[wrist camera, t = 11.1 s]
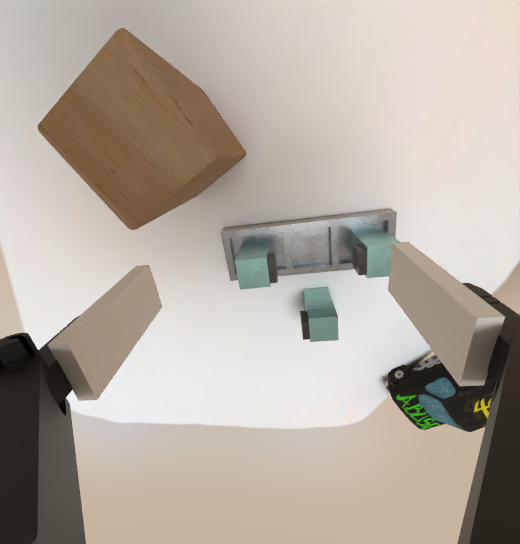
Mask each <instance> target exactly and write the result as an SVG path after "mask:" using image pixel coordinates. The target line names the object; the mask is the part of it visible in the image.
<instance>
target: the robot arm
mask: <svg viewBox="0 0 520 544" xmlns="http://www.w3.org/2000/svg"><path fill="white" fill-rule="evenodd" d="M388 291H389V292H390V293H391V295H392V296H393V297H394V299H395V300H396V301H397V303H398V304H399V305H400V307H401V308H402V309H403V311H404V312H405V314H406V315H407V316H408V318H409V319H410V320H411V322H412V323H413V324H414V326H415V327H416V328H417V330H418V331H419V332H420V334H421V335H422V336H423V338H424V339H425V340H426V342H427V343H428V344H429V346H430V347H431V349H432V350H433V351H434V353H435V354H436V355H437V357H438V358H439V359H440V361H441V362H442V363H443V365H444V366H445V367H446V369H447V370H448V371H449V373H450V374H451V375H452V377H453V378H454V380H455V381H456V382H457V384H458V385H459V386H481V385H484V384H485V380H486V377H487V374H488V371H489V373H490V374H491V375H492V376H493V377H494V378H495V379H496V380H497V383H496V386H495V389H494V392H493V395H492V398H491V401H490V404H489V406H490V410H489V415H488V419H487V423H486V427H485V431H484V435H483V440H482V444H481V448H480V452H479V456H478V461H477V465H476V469H475V473H474V478H473V482H472V486H471V490H470V494H469V498H468V502H467V507H466V511H465V515H464V519H463V523H462V527H461V532H460V536H459V540H458V544H520V315H518V314H517V313H515V312H514V311H513V310H511V309H510V308H508V307H507V306H506V305H504V304H503V303H500V301H499V300H497V299H496V298H494V297H492V295H490V294H489V293H488V292H486V291H485V290H483V289H482V288H480V287H477V286H475V285H472V284H470V283H461V282H459V281H458V280H457V279H456V278H454V277H453V276H452V275H450V274H449V273H448V272H446V271H445V270H444V269H443V268H441V267H440V266H439V265H437V264H436V263H435V262H433V261H432V260H431V259H430V258H428V257H427V256H426V255H424V254H423V253H422V252H421V251H419V250H418V249H417V248H415V247H414V246H413V245H411V244H410V243H409V242H400V243H392V252H391V263H390V275H389V286H388ZM161 308H162V304H161V301H160V298H159V295H158V292H157V288H156V285H155V282H154V279H153V276H152V273H151V269H150V266H149V265H144V266H136V267H135V268H134V269H132V270H131V271H130V272H129V273H128V274H127V275H126V276H125V277H123V278H122V279H121V280H120V281H119V282H118V283H117V284H115V285H114V286H113V287H112V288H111V289H110V290H109V291H108V292H106V293H105V294H104V295H103V296H102V297H101V298H100V299H98V300H97V301H96V302H95V303H94V304H93V305H92V306H91V307H89V308H88V309H87V310H86V311H85V312H84V313H83V314H81V315H80V316H78V317H77V318H75V319H74V320H73V321H72V322H70V323H69V324H68V325H67V327H65V328H64V329H62V330H61V331H60V333H58V334H57V335H56V336H54V337H53V338H52V339H51V340H50V341H49V342H48V343H46V344H45V345H44V346H43V347H42V348H41V349H40V350H38V349H37V348H36V346H35V344H34V343H33V341H32V339H31V337H30V336H29V334H28V333H18V334H14V335H10V336H7V337H5V338H3V339H0V544H86V541H85V533H84V523H83V515H82V506H81V497H80V489H79V480H78V471H77V464H76V454H75V445H74V437H73V428H72V420H71V411H70V404H69V402H68V400H67V399H66V397H67V395H68V394H69V393H70V392H71V391H72V389H73V391H74V393H75V395H76V396H77V398H78V400H97V399H98V398H99V396H100V395H101V394H102V392H103V391H104V389H105V388H106V386H107V385H108V384H109V382H110V381H111V379H112V378H113V376H114V375H115V374H116V372H117V371H118V369H119V368H120V366H121V365H122V364H123V362H124V361H125V359H126V358H127V356H128V355H129V353H130V352H131V351H132V349H133V348H134V346H135V345H136V343H137V342H138V341H139V339H140V338H141V336H142V335H143V333H144V332H145V331H146V329H147V328H148V326H149V325H150V323H151V322H152V321H153V319H154V318H155V316H156V315H157V313H158V312H159V311H160V309H161Z"/></svg>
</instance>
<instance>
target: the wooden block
mask: <svg viewBox="0 0 520 544" xmlns="http://www.w3.org/2000/svg"><path fill="white" fill-rule="evenodd" d="M38 130H39V132H40V133H41V134H42V135H43V136H44V137H45V139H46V140H47V141H48V142H49V143H50V144H51V145H52V146H53V147H54V148H55V149H56V150H57V152H58V153H59V154H60V155H61V156H62V157H63V158H64V159H65V160H66V161H67V162H68V163H69V164H70V166H71V167H72V168H73V169H74V170H75V171H76V172H77V173H78V174H79V175H80V176H81V177H82V179H83V180H84V181H85V182H86V183H87V184H88V185H89V186H90V187H91V188H92V189H93V190H94V192H95V193H96V194H97V195H98V196H99V197H100V198H101V199H102V200H103V201H104V202H105V203H106V204H107V206H108V207H109V208H110V209H111V210H112V211H113V212H114V213H115V214H116V215H117V216H118V217H119V219H120V220H121V221H122V222H123V223H124V224H125V225H126V226H127V227H128V228H129V229H131V230H134V229H137V228H139V227H141V226H143V225H145V224H147V223H148V222H150V221H152V220H154V219H156V218H157V217H159V216H161V215H163V214H165V213H167V212H168V211H170V210H172V209H174V208H176V207H178V206H179V205H181V204H183V203H185V202H187V201H188V200H190V199H192V198H194V197H196V196H197V195H199V194H200V193H201V192H202V191H203V190H205V189H206V188H207V187H208V186H210V185H211V184H212V183H213V182H214V181H216V180H217V179H218V178H219V177H220V176H222V175H223V174H224V173H225V172H226V171H228V170H229V169H230V168H231V167H233V166H234V165H235V164H236V163H237V162H239V161H240V160H241V159H242V158H243V157H245V155H246V152H245V150H244V149H243V147H242V146H241V144H240V143H239V142H238V140H237V139H236V137H235V136H234V134H233V133H232V132H231V130H230V129H229V127H228V126H227V124H226V123H225V122H224V120H223V119H222V117H221V116H220V114H219V113H218V112H217V110H216V109H215V107H214V106H213V104H212V103H211V102H210V100H209V99H208V97H207V96H206V94H205V93H204V92H203V90H202V89H201V88H199V87H198V86H197V85H195V84H194V83H193V82H192V81H190V80H189V79H188V78H187V77H185V76H184V75H183V74H182V73H180V72H179V71H178V70H177V69H175V68H174V67H173V66H171V65H170V64H169V63H168V62H166V61H165V60H164V59H163V58H161V57H160V56H159V55H158V54H156V53H155V52H154V51H152V50H151V49H150V48H149V47H147V46H146V45H145V44H144V43H142V42H141V41H140V40H139V39H137V38H136V37H135V36H134V35H132V34H131V33H130V32H128V31H127V30H125V29H124V28H121V29H119V30H117V31H116V32H115V33H114V35H113V36H112V37H111V38H110V39H109V41H108V42H107V43H106V44H105V45H104V47H103V48H102V49H101V50H100V51H99V53H98V54H97V55H96V56H95V57H94V59H93V60H92V61H91V62H90V63H89V65H88V66H87V67H86V68H85V69H84V71H83V72H82V73H81V74H80V75H79V77H78V78H77V79H76V80H75V81H74V83H73V84H72V85H71V86H70V87H69V89H68V90H67V91H66V92H65V93H64V95H63V96H62V97H61V98H60V99H59V101H58V102H57V103H56V104H55V105H54V107H53V108H52V109H51V110H50V111H49V113H48V114H47V115H46V116H45V117H44V119H43V120H42V121H41V122H40V123H39V125H38Z"/></svg>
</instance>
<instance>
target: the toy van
mask: <svg viewBox="0 0 520 544" xmlns="http://www.w3.org/2000/svg"><path fill="white" fill-rule="evenodd" d="M518 315H520V314H518ZM388 376H389V380H390V381H391V382H392V383H393V384H394V385H392V384H390V383H389V382H388V381H385V387H386V389H387V390H388V391H389V392H390V394H391V397H392V399H393V401H394V402H395V403H396V404H397V406H398V407H399V408H400V410H401V411H402V412H403V413H404V414H405V415H406V417H408V419H409V420H410V421H411V422H412V423H413V424H415V425H416V426H417V427H418V428H419V429H423V430H426V429H429V428H432V427H435V426H439V425H442V424H448V425H451V426H454V427H456V428H459V429H462V430H464V431H468V432H472V431H475V430H478V429H480V428H483V427H485V426H486V423H487V419H488V415H489V410H490V406H489V404H490V401H491V398H492V395H493V392H494V389H495V386H496V383H497V380H496V379H495V378H494V377H493V376H492V375H491V374H490V373H489V371H488V374H487V377H486V380H485V384H484V385H481V386H459V385H458V384H457V382H456V381H455V380H454V378H453V377H452V375H451V374H450V373H449V371H448V370H447V369H446V367H445V366H444V365H443V363H442V362H441V361H440V359H439V358H438V357H437V355H434V356H432V357H431V358H429V359H427V360H425V361H423V362H421V363H420V364H418V365H416V366H414V367H412V368H411V370H409V369H408V368H407V367H406V366H404V365H402V366H399V367H396V368H394V369H392V370H391V371H390V372H389V375H388ZM388 387H389V388H388Z"/></svg>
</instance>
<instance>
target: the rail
mask: <svg viewBox="0 0 520 544" xmlns="http://www.w3.org/2000/svg"><path fill="white" fill-rule="evenodd" d="M396 214H397V212H396V211H394V210H392V209H382V210H374V211H365V212H357V213H348V214H340V215H331V216H323V217H314V218H306V219H297V220H289V221H281V222H272V223H264V224H255V225H247V226H238V227H230V228H224V229H223V230H222V232H221V234H222V240H223V245H224V250H225V255H226V260H227V265H228V270H229V275H230V281H233V280H238V276H237V270H236V265H235V259H236V257H237V254H238V252H239V249H240V247H241V244H242V242H243V240H247V239H256V238H265V237H269V242H270V250H271V253H275V255H276V263H277V271H278V276H285V275H296V274H306V273H317V272H327V271H337V270H348V269H355V270H356V272H357V273H358V275H365V276H366V277H367V278H373V277H384V276H389V275H390V263H391V252H392V243H400V242H399V241H398V240H397V239H395V230H396Z"/></svg>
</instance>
